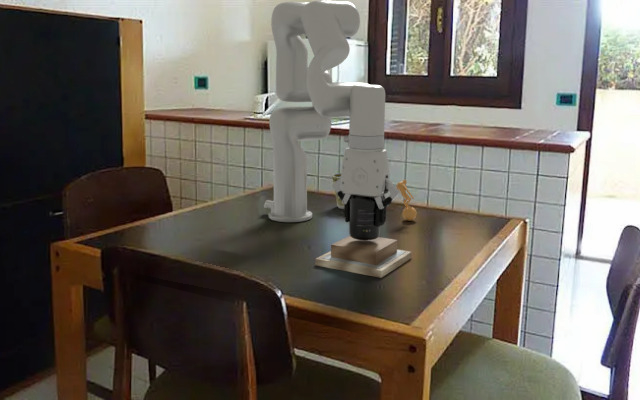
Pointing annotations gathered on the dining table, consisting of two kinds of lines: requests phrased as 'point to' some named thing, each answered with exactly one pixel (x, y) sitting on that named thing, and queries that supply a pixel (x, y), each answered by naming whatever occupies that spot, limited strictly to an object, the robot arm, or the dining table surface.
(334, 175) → the ceramic cup
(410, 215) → the figurine
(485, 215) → the dining table surface
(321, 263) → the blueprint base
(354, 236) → the supplement bottle
